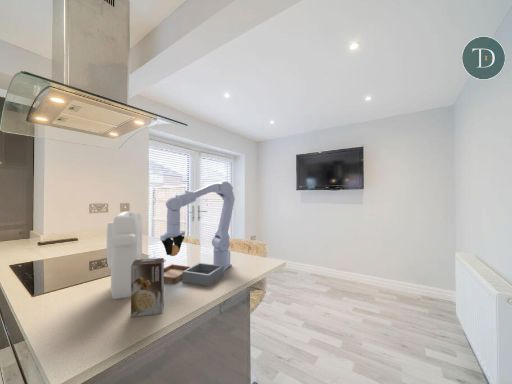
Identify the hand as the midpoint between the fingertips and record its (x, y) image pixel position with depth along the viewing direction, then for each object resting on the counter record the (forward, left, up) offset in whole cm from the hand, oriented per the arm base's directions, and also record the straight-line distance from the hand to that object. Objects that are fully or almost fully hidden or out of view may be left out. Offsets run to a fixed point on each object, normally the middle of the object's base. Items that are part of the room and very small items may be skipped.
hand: (173, 253), depth 104 cm
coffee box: (+28, +13, -11) cm, 33 cm away
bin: (-2, +15, -10) cm, 18 cm away
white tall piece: (+18, -9, -11) cm, 23 cm away
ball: (0, 0, +1) cm, 1 cm away
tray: (0, 0, -10) cm, 10 cm away
